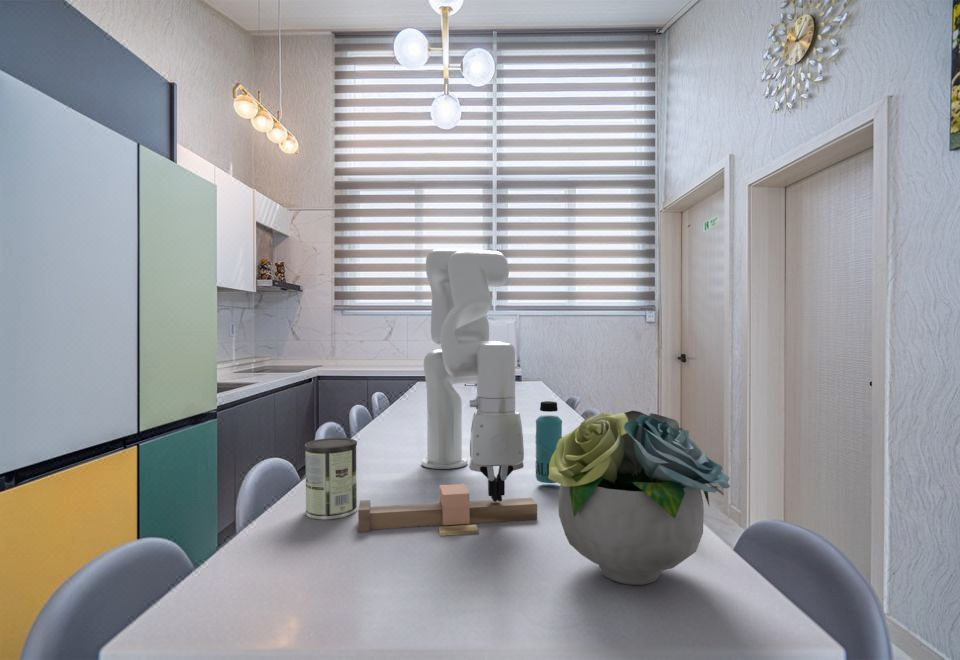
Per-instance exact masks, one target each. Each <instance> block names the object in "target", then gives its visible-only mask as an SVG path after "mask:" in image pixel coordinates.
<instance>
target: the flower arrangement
mask: <svg viewBox="0 0 960 660" xmlns="http://www.w3.org/2000/svg"><path fill="white" fill-rule="evenodd" d="M689 434H690V431H688V429H684V428H683V427H680V425H679V422H678V421H677V420H676V419H674V418H671V417H668V416H664V415H661V414H657V413H652V412H651V413H649V414H645V413H644V412H641V411H638V410H630V411H626V412H622V413H621V412H620V413H618V414H612V413H606V412H605V413H599V414H596V415H595V414H593V413H590V414H588V415H587V416H586V418H585V419H584V420H583V421H581V423H580V425H578V426H577V427H576V428H575V429H573V430H572V431H571V432H569V433H567V434H566V435H564V436H562V438H561V439H559V441H558V443H557V447H556V450H555V452H554V454H553V455H552V457H551V460H550V463H549V476H548V478H549V479H550V480H552V481H554V482H557V484H559V490H558V495H557V498H558V499H557V501H558V502H557V503H558V518H559V520H560V524H561V526H562V529H563V532H564V535H565V537H566V539H567V542H568V543H569V545H570V546H571V547H573V549H575V550H576V552H578V554H579V555H581V556H582V557H584V558H586V559H587V560H589V561H590V562H592V563H593V564H596V565H598V568H599V570H600V572H601V573H602V575H603V576H605V578H607V579H609V580H611V581H613V582H616V583H620V584H625V585H630V586H635V585H636V586H638V585H639V586H640V585H641V586H644V585H647V584H652V583H653V582H655V581H656V580H658V579H659V578H660V575H661V572H663V571H667V570H671V569H673V568H675V567H677V566H678V565H680V564H681V563H682V562H683V561H685V560H687V559H688V558H689V557H690V556H692V555H694V554H695V553H696V552H697V550H698V547H699V546H700V543H701V540H702V537H703V534H704V512H705V511H704V510H705V509H704V507H705V506H704V500H703V494H702V491H703V493H704V497H705V499H706V501H707V505H708V506H710V500H709V493H713V494H714V493H717V492H718V490H719V489H718V486H717V485H719V486H720V488H722V489H729V488H731V485H730V484H729V483H728V482H729V481H730V479H731V477H729V476H728V475H726V474H725V473H723V472H722V471H723V466H722V465H721V464H719V463H717V462H716V461H714V460H712V459H710V458H709V457H708V456H707V454H706V452H705V451H703V449H701V447H699V445H697V443H696V442H695V441H694V440H693V439H691V437H689V436H690V435H689ZM707 484H717V485H712V486H708V485H707Z"/></svg>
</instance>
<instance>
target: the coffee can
mask: <svg viewBox="0 0 960 660" xmlns="http://www.w3.org/2000/svg"><path fill="white" fill-rule="evenodd" d="M357 443H358V441H357V440H356V439H353V438H349V437H329V438H320V439H315V440H314V439H313V440H310V441H308V442H306V443H305V444H304V449H305V454H304V456H305V458H304V459H305V461H304V462H305V516H307V517H308V518H310V519H314V520H325V521H326V520H335V519H342V518H346V517H350V516H351V515H353V514H355V513H356V512H358V507H357V506H358V505H357V504H358V502H357V501H358V500H357V497H358V496H357V495H358V492H357V491H358V489H357V445H358V444H357Z"/></svg>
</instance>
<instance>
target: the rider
mask: <svg viewBox="0 0 960 660" xmlns="http://www.w3.org/2000/svg"><path fill="white" fill-rule="evenodd" d="M469 501H470V492H469V490H468V487H467V486H466V484H465V483H460V484H458V483H456V484H439V503H441V505H442V520H443V525H442V526H458V525H471V523H470V512H469Z"/></svg>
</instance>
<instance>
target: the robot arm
mask: <svg viewBox="0 0 960 660" xmlns="http://www.w3.org/2000/svg"><path fill="white" fill-rule="evenodd" d="M509 268H510V267H509V263H508V259H506V256H505V255H504V254H503V253H502V252H500V251H497V250H496V251H493V250H489V249H488V250H486V249H465V248H437V249H433V250H431V251H428V254H427V255H426V258H425V272H426V277H427V281H428V283H429V287H430V290H431V309H430V311H431V313H430V335H431V336H430V337H431V340H432V342H433V343H435V344H436V345H440V349H433V350H430V351H429V352H427V353H426V355H425V356H424V358H423V371H424V377H425V378H424V379H425V385H426V415H427V416H426V427H427V429H426V434H427V435H426V436H427V437H426V440H427V441H426V443H427V444H426V445H427V446H426V447H427V449H426V450H427V451H426V452H427V455H426V457H424V458H422V459H421V465H422V466H423V467H425V468H428V469H434V470H436V469H437V470H452V469H459V468H463V467H465V466H466V465H468V468H469V470H470V471H473V472H478V473H481V474H482V475H484V477H486V479H487V480H488V481H487V482H488V483H487V484H488V485H487V487H488V490H487V491H488V493H487V495H488V496H489V497H490V498H491V500H493V501H494V502H496V501H497V500H498V501H502V499H503V497H504V496H506V495H505V493H506V491H505V488H506V485H505V482H506V480H507V478H508V477H509V475H510V474H511V473H512V472H513V471H517V470H520V469H521V470H522V469H523V468H524V467H525V466H524V459H525V450H524V436H523V435H524V434H523V426H522V417H521V414H520V412H518V411H516V349H515V346H514V345H513V344H511V343H510V342H509V343H508V342H504V341H500V340H490V323H489V319H488V317H487V314H488V313H489V312H490V311H491V309H492V306H493V300H492V296H491V292H490V289H489V288H490V287H498V288H499V287H503V286H504V285H506V283H507V281H508V279H509V273H510V269H509ZM475 383H476V397H475V399H473V400H469V408H475V410H476V411H475V412H473V416H472V420H471V421H472V422H471V428H470V439H469V456H470V460H469V464H468V458H467V457H466V456H465V457H464V456H463V452H462V451H463V450H462V449H463V444H462V443H463V441H462V440H463V438H462V437H463V433H462V432H463V431H462V430H463V429H462V426H463V421H462V420H463V419H462V417H463V416H462V415H463V414H462V413H463V412H462V411H463V408H462V406H463V405H462V403H463V402H462V398H461V396H460V394H459V392H458V391H457V390H456V389H455V388H454V386H453V385H455V384H456V385H458V384H475ZM494 467H498V470H497V471H498V472H497V474H496V476H495V471H494Z"/></svg>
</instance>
